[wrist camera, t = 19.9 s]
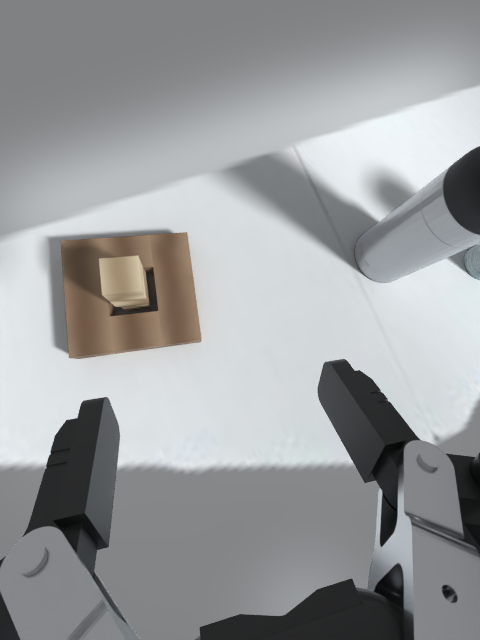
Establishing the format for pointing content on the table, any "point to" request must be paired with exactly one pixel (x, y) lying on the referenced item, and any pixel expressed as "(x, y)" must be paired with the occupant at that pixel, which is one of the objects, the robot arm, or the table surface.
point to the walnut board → (98, 313)
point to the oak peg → (124, 282)
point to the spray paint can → (473, 261)
